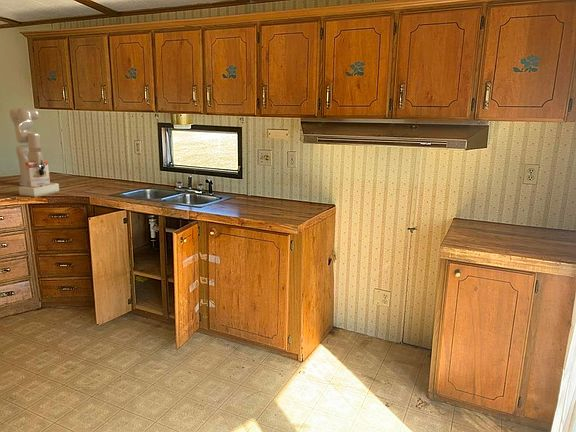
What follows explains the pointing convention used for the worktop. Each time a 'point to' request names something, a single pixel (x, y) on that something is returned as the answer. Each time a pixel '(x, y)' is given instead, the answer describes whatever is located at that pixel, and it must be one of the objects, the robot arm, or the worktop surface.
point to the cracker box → (36, 175)
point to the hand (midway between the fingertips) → (37, 174)
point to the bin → (39, 190)
